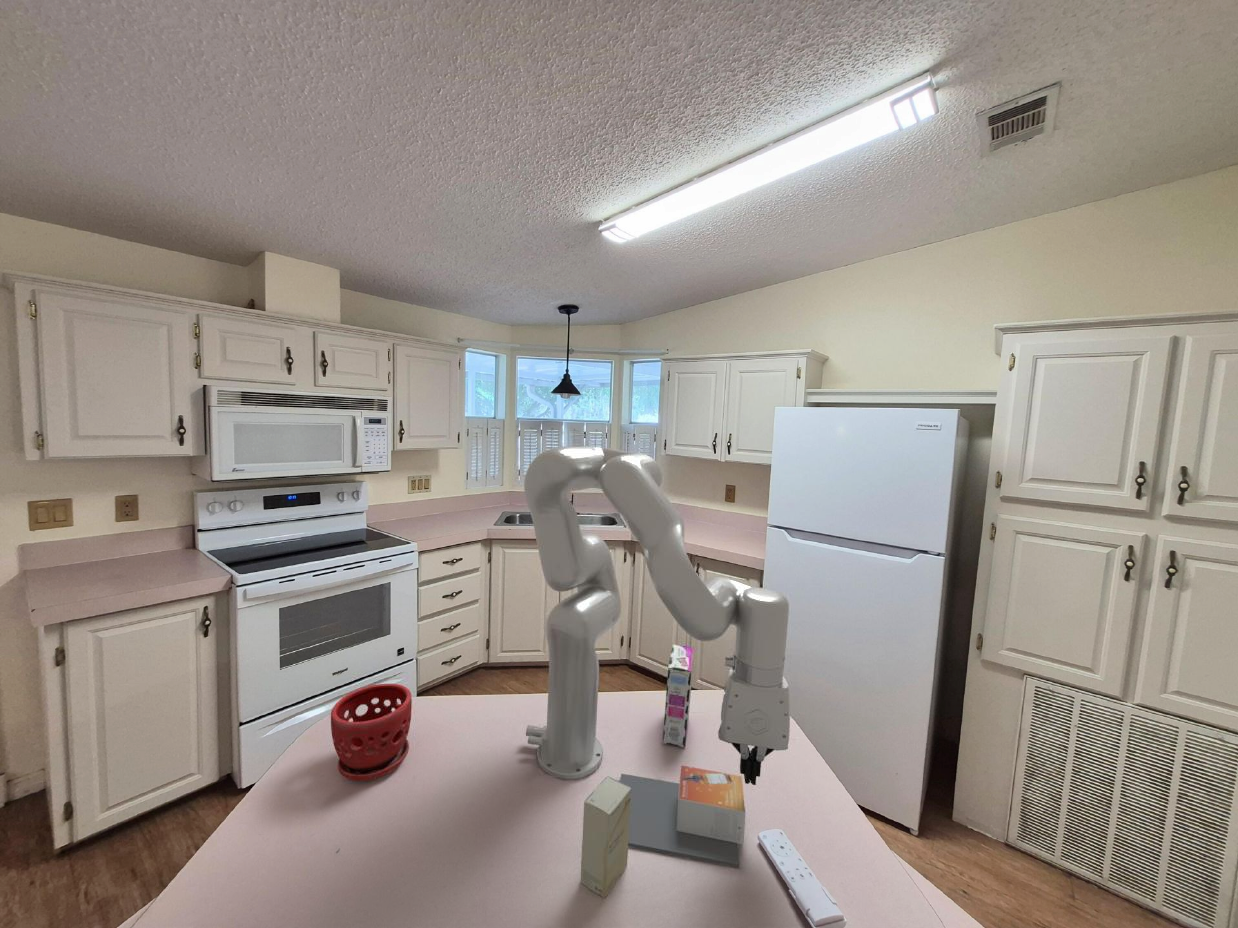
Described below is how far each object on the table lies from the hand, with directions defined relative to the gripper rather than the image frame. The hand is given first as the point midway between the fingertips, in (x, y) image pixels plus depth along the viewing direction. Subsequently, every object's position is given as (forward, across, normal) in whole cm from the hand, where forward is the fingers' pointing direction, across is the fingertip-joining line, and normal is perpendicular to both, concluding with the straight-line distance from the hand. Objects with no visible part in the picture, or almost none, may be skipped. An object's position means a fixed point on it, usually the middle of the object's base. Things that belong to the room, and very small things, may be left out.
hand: (749, 777), depth 76 cm
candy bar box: (+9, -12, +23) cm, 28 cm away
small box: (+6, 0, 0) cm, 6 cm away
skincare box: (+9, -21, -12) cm, 26 cm away
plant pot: (+9, -67, 0) cm, 68 cm away
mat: (+9, -12, 0) cm, 15 cm away
